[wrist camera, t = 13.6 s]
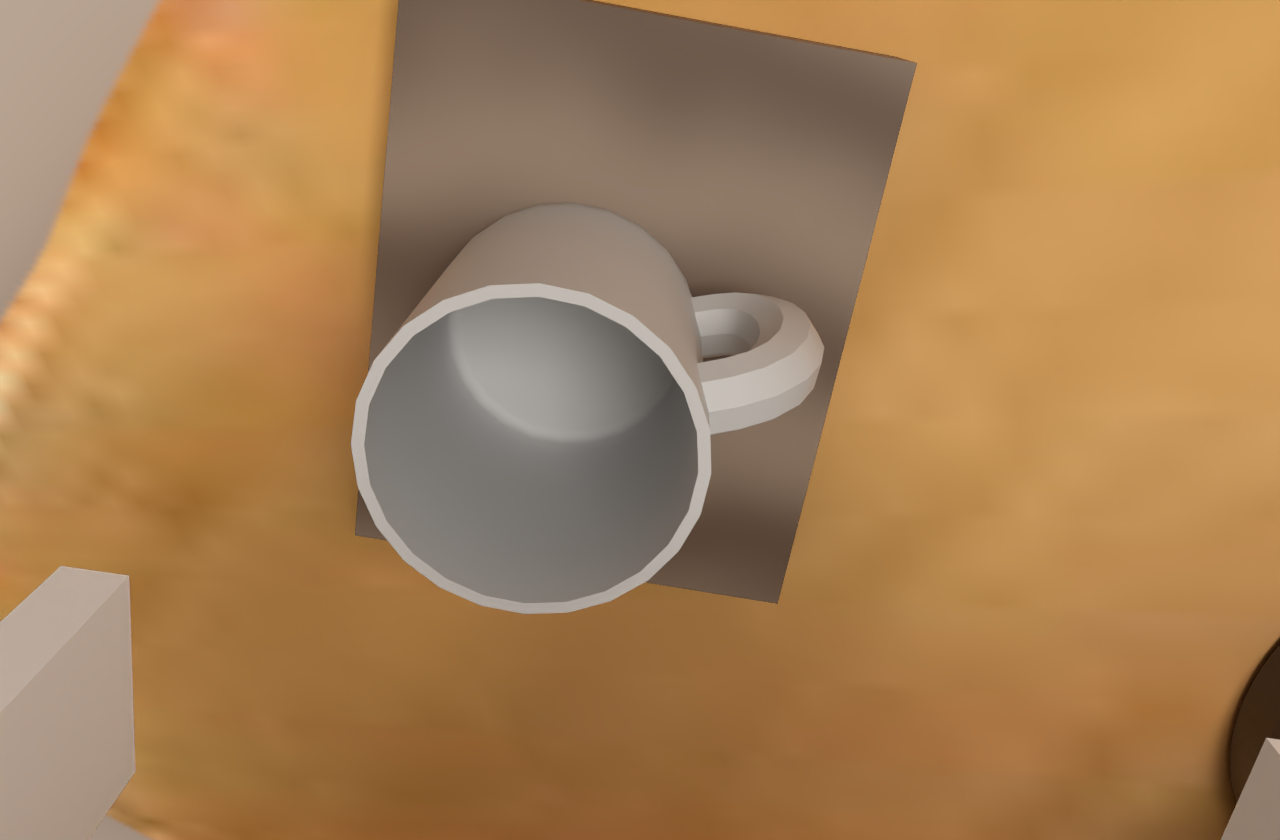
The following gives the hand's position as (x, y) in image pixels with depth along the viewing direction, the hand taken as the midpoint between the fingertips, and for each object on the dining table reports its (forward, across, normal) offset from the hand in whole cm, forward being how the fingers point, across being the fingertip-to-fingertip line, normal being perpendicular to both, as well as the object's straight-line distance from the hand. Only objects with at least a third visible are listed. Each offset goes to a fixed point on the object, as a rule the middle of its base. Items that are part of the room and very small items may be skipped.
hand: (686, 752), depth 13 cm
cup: (+18, +2, 0) cm, 19 cm away
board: (+21, +2, 0) cm, 21 cm away
